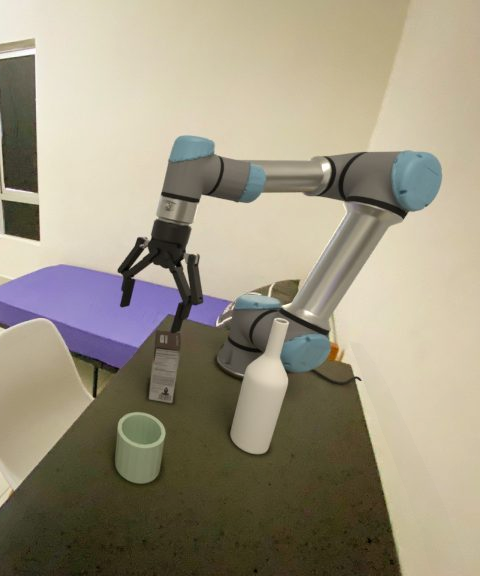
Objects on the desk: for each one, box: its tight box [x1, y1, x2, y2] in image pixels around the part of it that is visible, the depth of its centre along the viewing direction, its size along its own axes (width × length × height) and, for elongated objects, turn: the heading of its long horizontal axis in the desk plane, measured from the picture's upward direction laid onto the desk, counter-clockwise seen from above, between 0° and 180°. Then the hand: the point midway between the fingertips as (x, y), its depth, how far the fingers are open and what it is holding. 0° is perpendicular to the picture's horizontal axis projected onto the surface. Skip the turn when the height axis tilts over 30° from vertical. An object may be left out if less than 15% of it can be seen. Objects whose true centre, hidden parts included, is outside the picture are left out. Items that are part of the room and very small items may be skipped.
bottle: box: [229, 318, 289, 455], centre depth 69 cm, size 8×8×30 cm
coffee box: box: [148, 329, 182, 404], centre depth 87 cm, size 9×6×16 cm
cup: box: [114, 411, 166, 485], centre depth 66 cm, size 9×9×9 cm
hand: (148, 318), depth 73 cm, fingers open, 13 cm apart
